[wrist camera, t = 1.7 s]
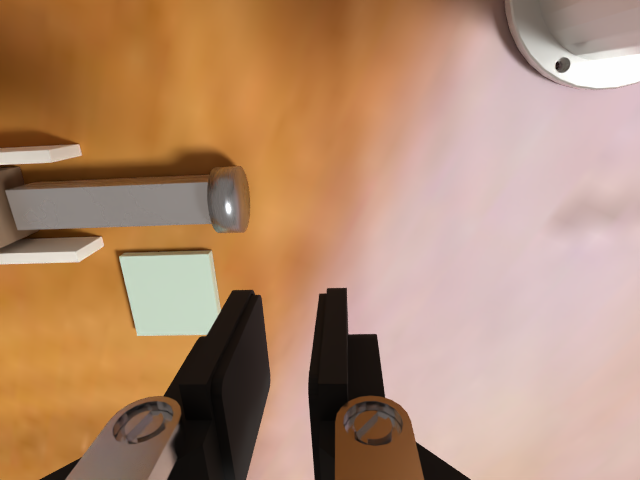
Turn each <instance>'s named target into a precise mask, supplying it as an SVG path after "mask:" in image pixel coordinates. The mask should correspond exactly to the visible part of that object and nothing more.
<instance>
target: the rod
mask: <svg viewBox="0 0 640 480" xmlns="http://www.w3.org/2000/svg"><path fill="white" fill-rule="evenodd" d="M5 192H6V195H7V198H8V201H9V204H10V208H11V211H12V214H13V217H14V220H15V223H16V227H17V230H37V229H67V228H97V227H127V226H156V225H186V224H212V225H213V227H214V229H215V231H216V232H218V233H239V232H245V231H246V229H247V227H248V223H249V217H250V195H249V187H248V182H247V177H246V174H245V172H244V170H243V168H242V167H241V166H232V167H215V168H213V169H212V170H211V172H210V175H188V176H164V177H140V178H117V179H93V180H70V181H46V182H33V183H30V184H26V185H23V186H19V187H16V188H12V189H8V190H5Z"/></svg>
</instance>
